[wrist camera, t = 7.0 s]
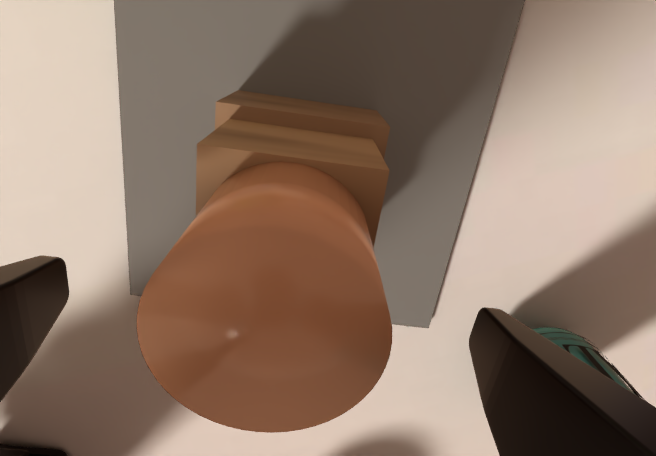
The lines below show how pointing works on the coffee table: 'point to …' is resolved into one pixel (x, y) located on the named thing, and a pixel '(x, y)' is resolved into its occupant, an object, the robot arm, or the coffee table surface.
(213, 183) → the top block
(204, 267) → the peach rounded capsule
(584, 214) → the coffee table surface
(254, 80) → the mat
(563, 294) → the coffee table surface
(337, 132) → the base block
